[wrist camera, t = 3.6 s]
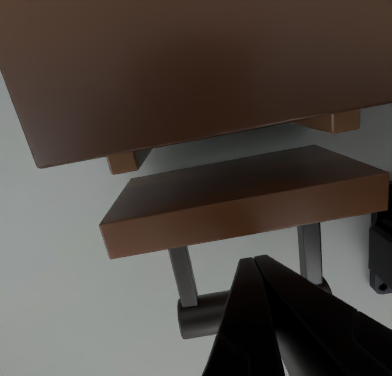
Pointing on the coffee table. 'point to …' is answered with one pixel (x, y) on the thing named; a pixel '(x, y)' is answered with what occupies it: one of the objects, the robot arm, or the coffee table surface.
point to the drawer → (240, 209)
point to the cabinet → (185, 68)
